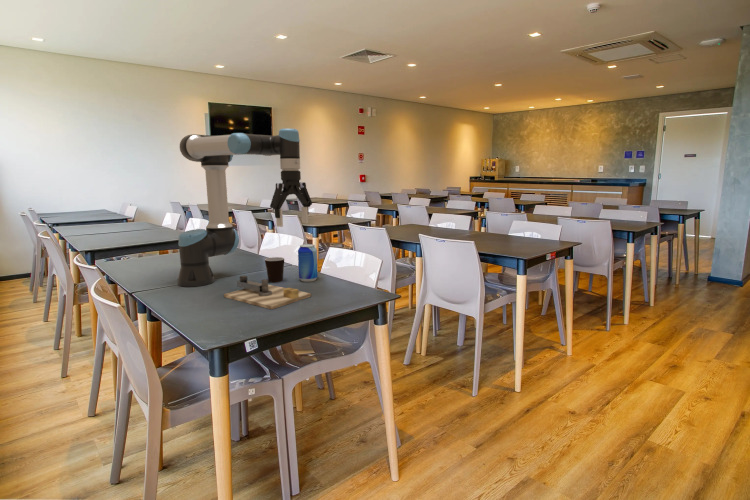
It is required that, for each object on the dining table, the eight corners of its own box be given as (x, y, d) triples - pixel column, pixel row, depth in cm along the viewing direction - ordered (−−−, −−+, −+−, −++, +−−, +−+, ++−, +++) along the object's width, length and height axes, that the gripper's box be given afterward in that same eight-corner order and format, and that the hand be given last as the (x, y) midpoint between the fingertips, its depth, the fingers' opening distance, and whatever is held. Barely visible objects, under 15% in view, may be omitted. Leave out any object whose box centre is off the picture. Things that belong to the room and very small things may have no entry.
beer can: (295, 281, 195) (294, 246, 193) (305, 277, 203) (304, 243, 200) (311, 282, 192) (310, 247, 189) (321, 278, 200) (320, 244, 197)
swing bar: (265, 290, 172) (265, 279, 171) (259, 291, 169) (259, 281, 169) (243, 285, 180) (242, 274, 179) (237, 286, 178) (236, 276, 177)
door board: (224, 297, 171) (222, 279, 170) (263, 286, 187) (263, 270, 186) (271, 309, 155) (270, 290, 154) (311, 296, 171) (310, 279, 170)
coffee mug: (280, 283, 192) (279, 261, 190) (262, 282, 193) (261, 260, 192) (290, 277, 203) (289, 256, 201) (273, 276, 205) (272, 255, 203)
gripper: (272, 170, 156) (275, 228, 159) (319, 170, 175) (321, 222, 179) (258, 170, 160) (261, 227, 164) (306, 170, 180) (308, 221, 184)
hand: (292, 224), depth 171 cm, fingers open, 13 cm apart
